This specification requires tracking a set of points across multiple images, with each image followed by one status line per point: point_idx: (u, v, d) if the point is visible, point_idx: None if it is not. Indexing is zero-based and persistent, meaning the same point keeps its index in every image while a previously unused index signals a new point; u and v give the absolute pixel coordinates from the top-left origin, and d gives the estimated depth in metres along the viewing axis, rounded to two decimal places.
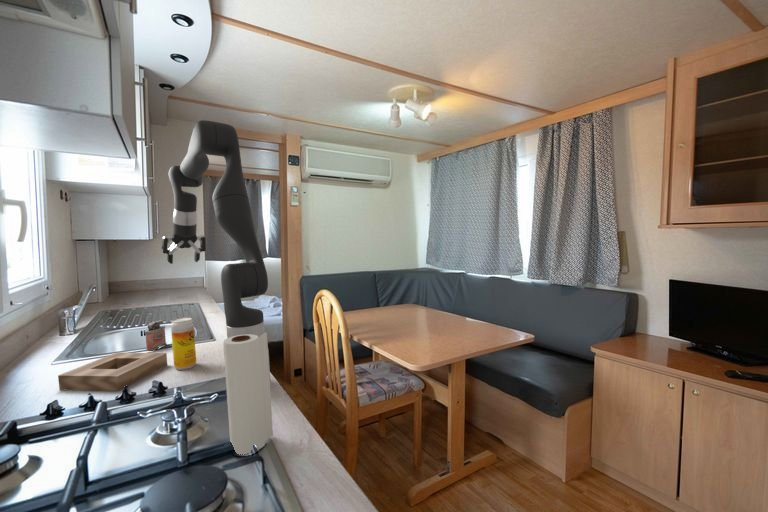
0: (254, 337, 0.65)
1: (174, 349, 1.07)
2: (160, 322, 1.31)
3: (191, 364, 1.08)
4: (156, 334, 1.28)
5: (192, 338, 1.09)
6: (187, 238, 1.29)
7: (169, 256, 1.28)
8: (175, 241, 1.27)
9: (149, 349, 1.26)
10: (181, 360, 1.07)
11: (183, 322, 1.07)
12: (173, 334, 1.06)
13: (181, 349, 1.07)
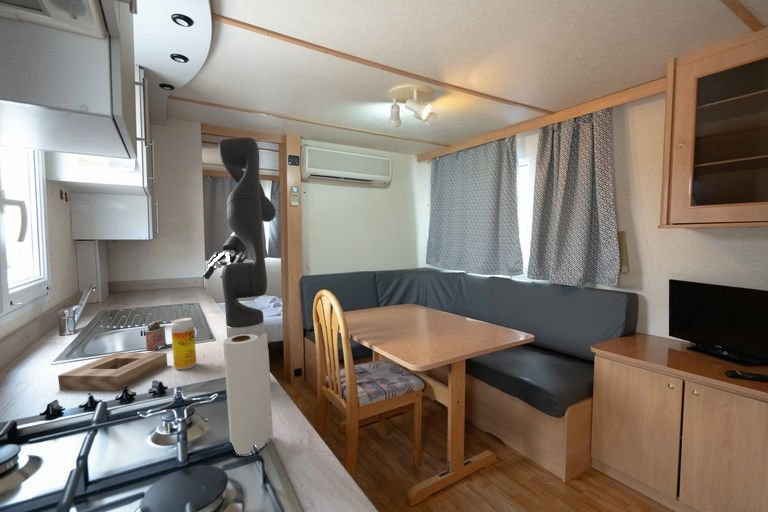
0: (254, 337, 0.65)
1: (174, 349, 1.07)
2: (160, 322, 1.31)
3: (191, 364, 1.08)
4: (156, 334, 1.28)
5: (192, 338, 1.09)
6: (229, 253, 1.22)
7: None
8: None
9: (149, 349, 1.26)
10: (181, 360, 1.07)
11: (183, 322, 1.07)
12: (173, 334, 1.06)
13: (181, 349, 1.07)
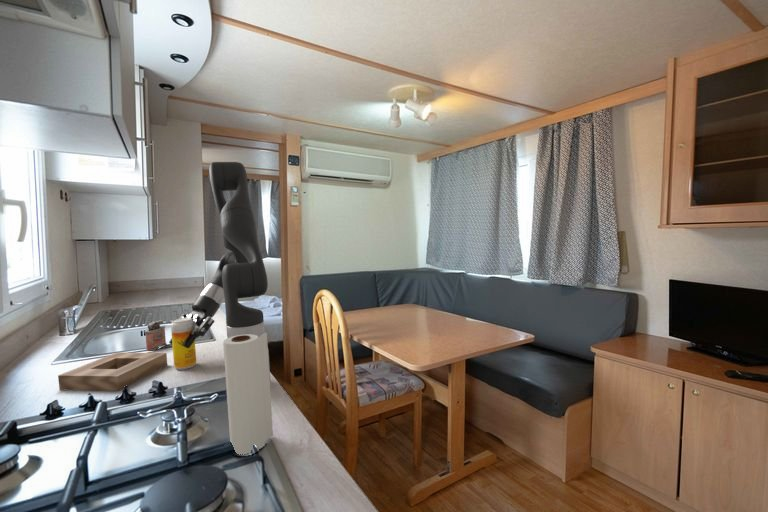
0: (254, 337, 0.65)
1: (174, 349, 1.07)
2: (160, 322, 1.31)
3: (191, 364, 1.08)
4: (156, 334, 1.28)
5: None
6: (198, 314, 1.13)
7: None
8: None
9: (149, 349, 1.26)
10: (181, 360, 1.07)
11: (183, 322, 1.07)
12: (173, 334, 1.06)
13: (181, 349, 1.06)
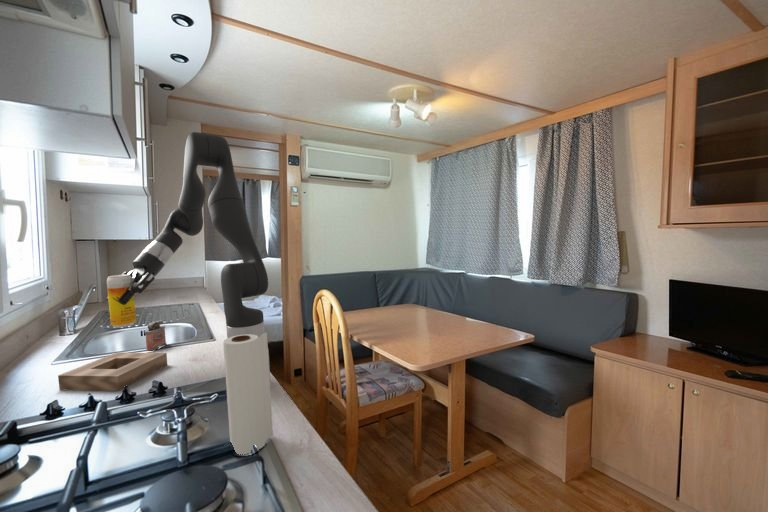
0: (254, 337, 0.65)
1: (109, 306, 1.01)
2: (160, 322, 1.31)
3: (129, 322, 1.03)
4: (156, 334, 1.28)
5: None
6: (138, 271, 1.07)
7: None
8: None
9: (149, 349, 1.26)
10: (118, 317, 1.01)
11: (119, 277, 1.01)
12: (108, 289, 1.01)
13: (117, 305, 1.01)
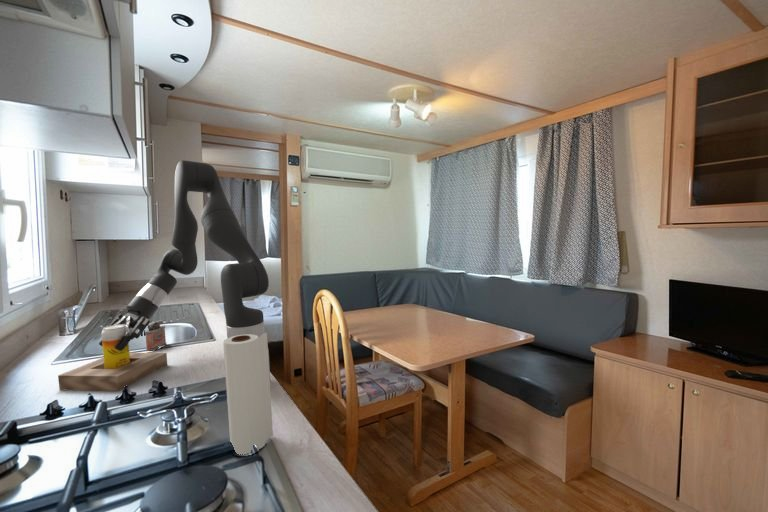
0: (254, 337, 0.65)
1: (104, 358, 1.01)
2: (160, 322, 1.31)
3: None
4: (156, 334, 1.28)
5: (125, 346, 1.03)
6: (132, 316, 1.07)
7: None
8: None
9: (149, 349, 1.26)
10: None
11: (114, 329, 1.01)
12: (103, 342, 1.00)
13: (112, 358, 1.01)
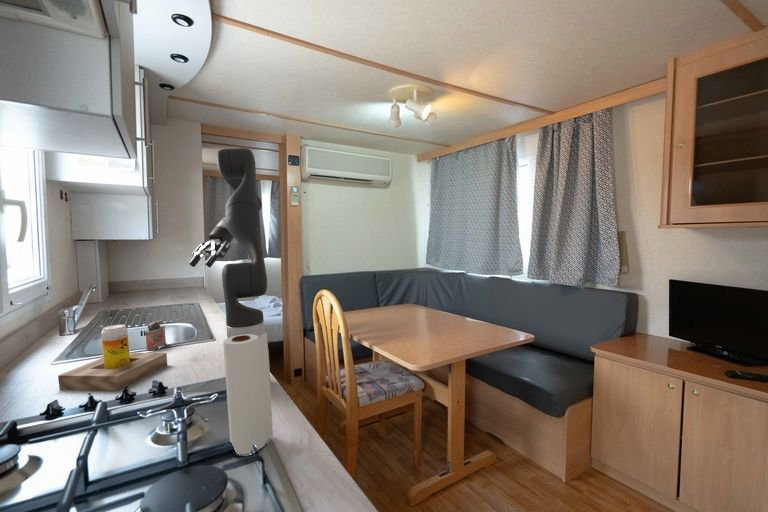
0: (254, 337, 0.65)
1: (104, 358, 1.01)
2: (160, 322, 1.31)
3: None
4: (156, 334, 1.28)
5: (125, 346, 1.03)
6: (214, 242, 1.26)
7: None
8: None
9: (149, 349, 1.26)
10: None
11: (114, 329, 1.01)
12: (103, 342, 1.00)
13: (112, 358, 1.01)
